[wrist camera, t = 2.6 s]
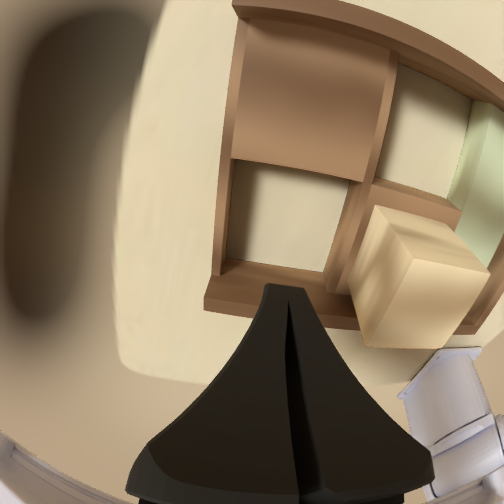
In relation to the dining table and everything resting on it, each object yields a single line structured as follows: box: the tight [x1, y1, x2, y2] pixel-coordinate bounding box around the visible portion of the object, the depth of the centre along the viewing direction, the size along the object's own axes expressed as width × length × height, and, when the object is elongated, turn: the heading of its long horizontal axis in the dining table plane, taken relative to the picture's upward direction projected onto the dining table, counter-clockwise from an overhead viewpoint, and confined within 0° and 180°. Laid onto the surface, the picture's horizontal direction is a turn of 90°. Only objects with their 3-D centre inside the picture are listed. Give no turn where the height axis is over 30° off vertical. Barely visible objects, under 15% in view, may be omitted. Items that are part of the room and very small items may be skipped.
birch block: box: [347, 205, 491, 349], centre depth 12 cm, size 5×5×5 cm
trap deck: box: [204, 0, 504, 335], centre depth 12 cm, size 16×20×4 cm
